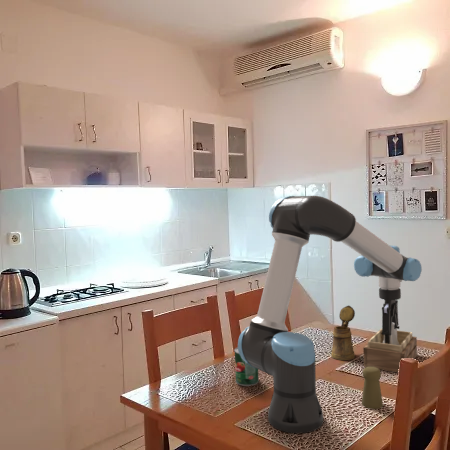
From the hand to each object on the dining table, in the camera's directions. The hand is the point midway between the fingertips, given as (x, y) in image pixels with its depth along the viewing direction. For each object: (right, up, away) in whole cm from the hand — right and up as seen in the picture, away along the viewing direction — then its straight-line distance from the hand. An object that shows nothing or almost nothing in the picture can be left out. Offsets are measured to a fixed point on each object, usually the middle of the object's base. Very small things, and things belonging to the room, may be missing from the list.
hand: (390, 348), depth 172 cm
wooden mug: (-15, -5, +9) cm, 18 cm away
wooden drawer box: (0, -4, 0) cm, 4 cm away
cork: (-18, -7, -34) cm, 39 cm away
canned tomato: (-54, -8, -14) cm, 56 cm away
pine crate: (0, -4, 0) cm, 4 cm away
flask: (0, -1, 0) cm, 1 cm away
